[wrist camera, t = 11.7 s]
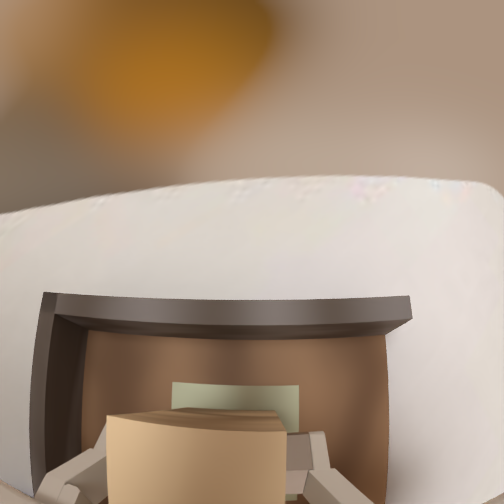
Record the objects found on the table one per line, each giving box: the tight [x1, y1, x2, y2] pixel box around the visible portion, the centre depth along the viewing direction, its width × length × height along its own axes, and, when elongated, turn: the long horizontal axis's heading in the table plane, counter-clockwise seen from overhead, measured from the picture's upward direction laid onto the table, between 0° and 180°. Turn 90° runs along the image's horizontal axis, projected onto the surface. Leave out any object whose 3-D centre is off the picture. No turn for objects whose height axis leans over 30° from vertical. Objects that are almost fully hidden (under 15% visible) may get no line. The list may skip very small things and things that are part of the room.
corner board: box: [29, 292, 413, 504], centre depth 13 cm, size 20×15×5 cm
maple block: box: [106, 407, 287, 504], centre depth 9 cm, size 4×4×9 cm
